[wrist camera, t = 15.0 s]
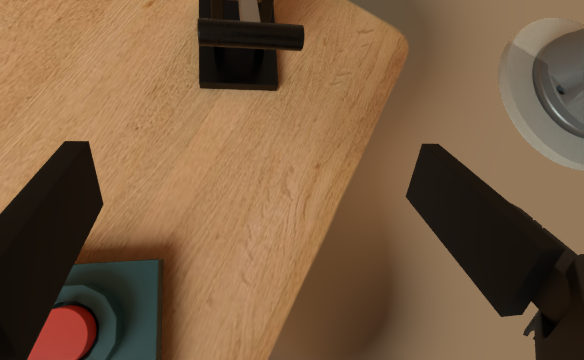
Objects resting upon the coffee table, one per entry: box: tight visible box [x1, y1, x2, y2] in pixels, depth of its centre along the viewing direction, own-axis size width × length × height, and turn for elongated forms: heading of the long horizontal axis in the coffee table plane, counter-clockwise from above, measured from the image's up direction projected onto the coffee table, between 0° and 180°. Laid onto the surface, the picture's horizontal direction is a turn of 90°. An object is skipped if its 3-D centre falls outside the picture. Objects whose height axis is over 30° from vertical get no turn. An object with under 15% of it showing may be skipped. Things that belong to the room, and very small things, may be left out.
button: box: [28, 305, 97, 360], centre depth 24 cm, size 4×4×2 cm
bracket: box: [199, 0, 278, 91], centre depth 31 cm, size 10×8×13 cm
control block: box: [27, 259, 163, 360], centre depth 27 cm, size 12×10×4 cm
